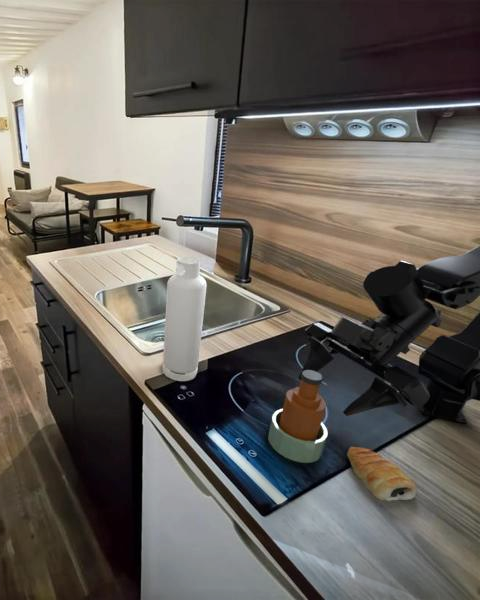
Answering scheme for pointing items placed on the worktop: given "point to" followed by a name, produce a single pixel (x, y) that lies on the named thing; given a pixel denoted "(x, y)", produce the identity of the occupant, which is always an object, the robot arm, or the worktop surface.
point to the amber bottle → (304, 408)
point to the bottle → (184, 320)
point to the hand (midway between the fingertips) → (321, 395)
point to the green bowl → (296, 442)
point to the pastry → (381, 475)
